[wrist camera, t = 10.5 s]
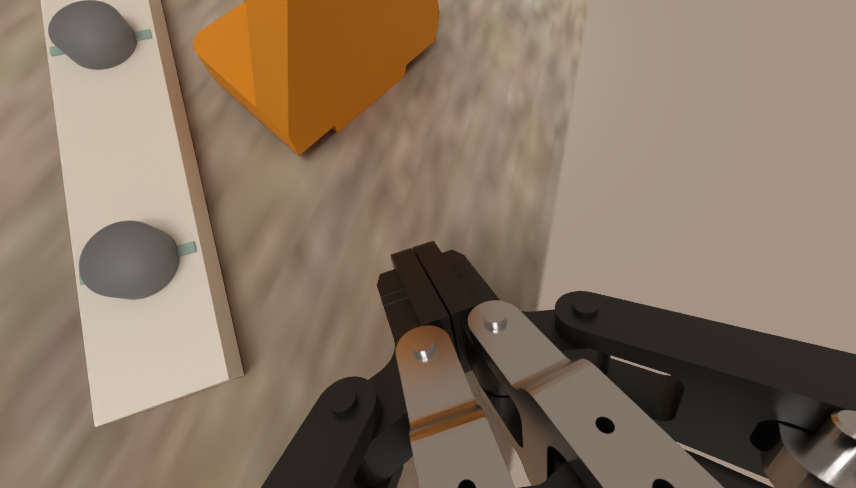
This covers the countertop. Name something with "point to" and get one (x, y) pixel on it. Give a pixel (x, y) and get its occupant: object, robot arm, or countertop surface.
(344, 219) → the countertop surface
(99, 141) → the board
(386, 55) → the bracket
